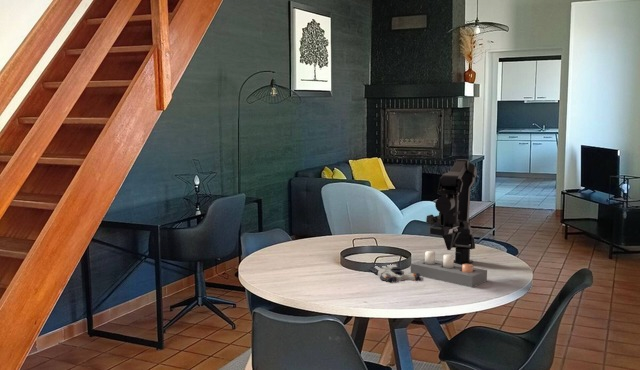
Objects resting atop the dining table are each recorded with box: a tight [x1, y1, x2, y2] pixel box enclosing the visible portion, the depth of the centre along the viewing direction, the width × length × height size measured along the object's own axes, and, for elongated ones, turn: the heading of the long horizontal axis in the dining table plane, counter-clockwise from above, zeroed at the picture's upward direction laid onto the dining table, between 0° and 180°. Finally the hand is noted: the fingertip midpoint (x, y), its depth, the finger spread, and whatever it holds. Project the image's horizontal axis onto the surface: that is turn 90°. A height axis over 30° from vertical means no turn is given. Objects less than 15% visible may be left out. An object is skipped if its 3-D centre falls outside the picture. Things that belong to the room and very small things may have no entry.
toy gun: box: [369, 261, 421, 283], centre depth 235 cm, size 3×20×15 cm
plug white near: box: [424, 250, 436, 265], centre depth 236 cm, size 4×4×5 cm
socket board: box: [410, 258, 488, 288], centre depth 231 cm, size 11×26×4 cm, turn 47°
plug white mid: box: [442, 253, 455, 269], centre depth 231 cm, size 4×4×5 cm
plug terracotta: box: [461, 263, 474, 273], centre depth 226 cm, size 4×4×5 cm
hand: (448, 249), depth 230 cm, fingers closed
